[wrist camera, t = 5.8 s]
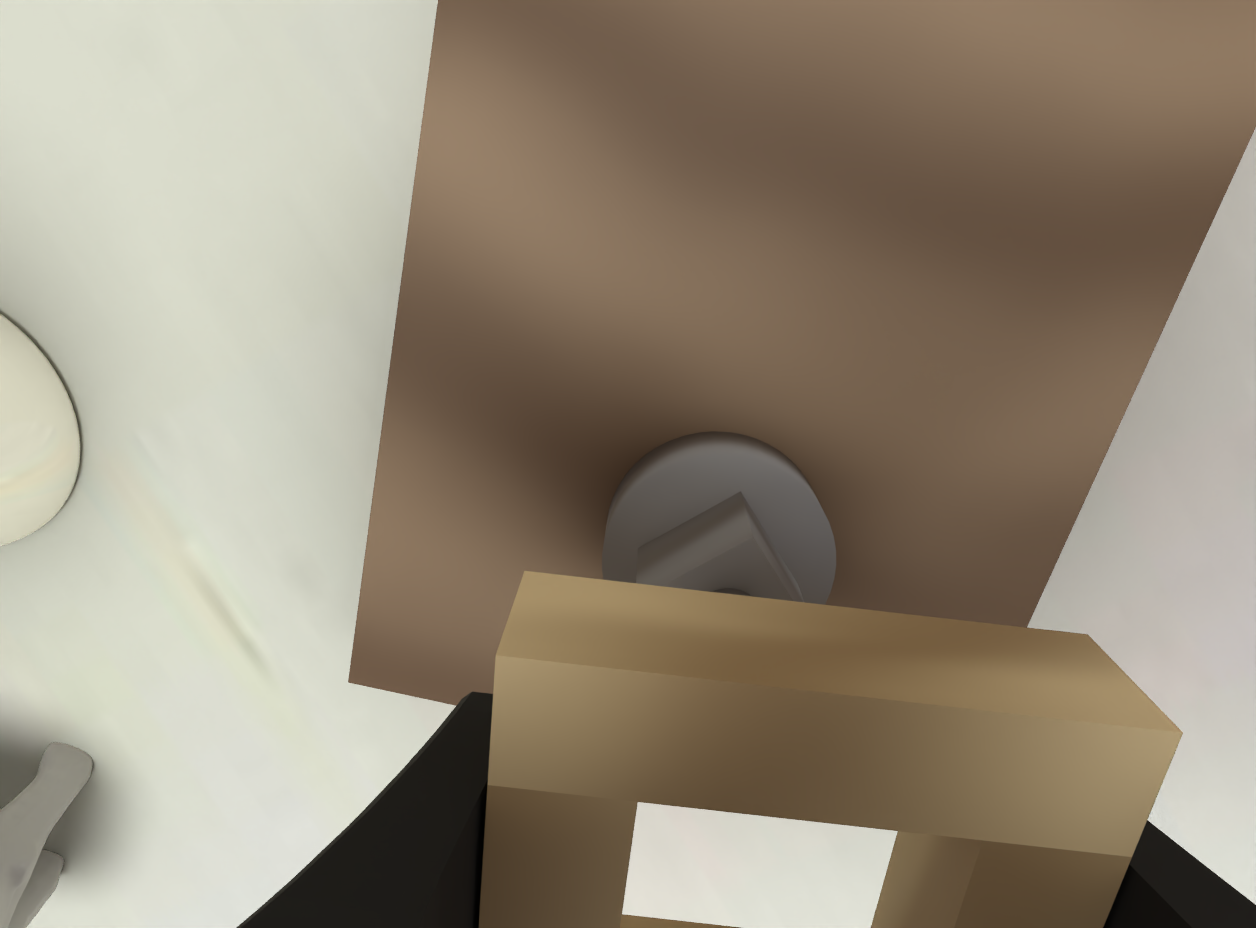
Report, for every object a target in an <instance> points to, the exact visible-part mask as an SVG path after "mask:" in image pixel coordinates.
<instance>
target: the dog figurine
mask: <svg viewBox="0 0 1256 928" xmlns="http://www.w3.org/2000/svg"><path fill="white" fill-rule="evenodd" d="M92 767H93V761H92V758H91V757H90V755H89V754H87V753H86V752H85V751H83V750H80V749H78V748H76V747H73V746H70V745H67V744H64V743H58V742H53V743H50V744H49V745H48V747H47V749H46V750H45V752H44V754H43V756H42V758H41V761H40V765H39V768H38V773H37V775H36V777H35V778H34V779H33V781H32V782H31V783H30V784H29V785H28V786H27V787H26V788H25V789H24V790H23V791H22V792H21V793H19V794H18V795H17V796H16V797H15V798H14V799H13V800H12V801H11V802H10V803H8V804H7V805H6V806H4V807H3V808H2V809H1V810H0V928H26V927H27V926H28V925H29V923H30V922H31V921H32V919H33V918H34V917H35V916H36V914H37V913H38V912H39V910H40V909H41V908H42V906H43V905H44V903H45V902H46V901H47V899H48V898H49V897H50V896H51V894H52V893H53V892H54V890H55V889H56V887H57V884H58V881H59V876H60V873H61V870H62V867H63V865H64V859H63V858H62V857H61V856H60V855H58V854H56V853H54V852H50V851H47V850H42V848H43V846H44V844H45V842H46V840H47V837H48V836H49V834H50V832H51V831H52V829H53V827H54V826H55V824H56V823H57V822H58V820H59V819H60V818H61V816H62V815H63V813H64V812H65V810H66V809H67V807H68V806H69V805H70V803H71V802H72V801H73V799H74V798H75V797H76V796H77V794H78V793H79V792H80V790H81V789H82V788H83V786H84V785H85V784H86V782H87V781H88V780H89V777H90V775H91V771H92Z"/></svg>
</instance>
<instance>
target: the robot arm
mask: <svg viewBox="0 0 1256 928" xmlns="http://www.w3.org/2000/svg"><path fill="white" fill-rule="evenodd" d="M492 705H493V694H490V693H481V692H471V693H469V694H468V695H466V696H465V697H464V698H462V699H461V700H460V702H459V703H458V704H457V706H456V707H455V708H454V710H453V711H452V712H451V713H450V715H449V716H448V717H447V718H446V720H445V721H444V722H443V723H442V724H441V726H440V727H439V728H438V729H437V731H436V732H435V733H434V734H433V735H432V736H431V738H430V739H429V740H428V741H427V742H426V743H425V745H424V746H423V747H422V748H421V749H420V750H419V751H418V753H417V754H416V755H415V756H414V757H413V758H412V759H411V760H410V762H409V763H408V764H407V765H406V766H405V767H404V768H403V769H402V770H401V772H400V773H399V774H398V775H397V776H396V777H395V778H394V779H393V780H392V781H391V782H390V783H389V784H388V785H387V786H386V787H385V788H384V790H383V791H382V792H381V793H380V794H379V795H378V796H377V797H376V798H375V799H374V800H373V801H372V802H371V803H370V804H369V805H368V806H367V807H366V809H365V810H364V811H363V812H362V813H361V814H360V815H359V816H358V817H357V818H356V819H355V820H354V821H353V822H352V823H351V824H350V825H349V826H348V827H347V828H346V829H345V830H344V831H342V832H341V833H340V834H339V835H338V836H337V837H336V838H335V839H334V840H333V841H332V842H331V843H330V844H329V845H328V846H327V847H326V848H325V849H324V850H322V851H321V852H320V853H319V854H318V855H317V856H316V857H315V858H314V859H313V860H312V861H311V862H310V863H309V864H308V865H307V866H306V867H305V868H304V869H302V870H301V871H300V872H299V873H298V874H297V875H296V876H295V877H294V878H293V879H292V880H291V881H290V882H289V883H287V884H286V885H285V886H284V887H283V888H282V889H281V890H280V891H278V892H277V893H276V894H275V895H274V896H273V897H272V898H270V899H269V900H268V901H267V902H266V903H265V904H264V905H262V906H261V907H260V908H259V909H258V910H257V911H256V912H254V913H253V914H252V915H251V916H250V917H249V918H247V919H246V920H245V921H244V922H243V923H241V924H240V925H239V926H238V927H237V928H479V914H480V898H481V882H482V866H483V850H484V834H485V818H486V802H487V786H488V769H489V753H490V737H491V721H492ZM1103 928H1256V905H1255V904H1254V903H1252V902H1251V901H1250V900H1249V899H1247V898H1246V897H1245V896H1243V895H1242V894H1241V893H1240V892H1238V891H1237V890H1236V889H1234V888H1233V887H1232V886H1231V885H1229V884H1228V883H1227V882H1225V881H1224V880H1223V879H1221V878H1220V877H1219V876H1218V875H1216V874H1215V873H1214V872H1212V871H1211V870H1210V869H1209V868H1207V867H1206V866H1205V865H1204V864H1202V863H1201V862H1200V861H1198V860H1197V859H1196V858H1195V857H1193V856H1192V855H1191V854H1190V853H1188V852H1187V851H1186V850H1184V849H1183V848H1182V847H1181V846H1179V845H1178V844H1177V843H1176V842H1174V841H1173V840H1172V839H1170V838H1169V837H1168V836H1167V835H1165V834H1164V833H1163V832H1162V831H1160V830H1159V829H1158V828H1156V827H1155V826H1154V825H1153V824H1151V823H1150V822H1149V821H1148V820H1147V822H1146V824H1145V827H1144V829H1143V831H1142V834H1141V836H1140V839H1139V841H1138V844H1137V846H1136V848H1135V851H1134V853H1133V856H1132V858H1131V861H1130V863H1129V866H1128V868H1127V870H1126V873H1125V875H1124V878H1123V880H1122V883H1121V885H1120V888H1119V890H1118V892H1117V895H1116V897H1115V900H1114V902H1113V905H1112V907H1111V909H1110V912H1109V914H1108V917H1107V919H1106V922H1105V924H1104V927H1103Z"/></svg>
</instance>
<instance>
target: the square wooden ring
mask: <svg viewBox="0 0 1256 928" xmlns="http://www.w3.org/2000/svg"><path fill="white" fill-rule="evenodd" d="M1182 734H1183V732H1182V731H1181V730H1180V729H1179V728H1178V727H1177V726H1176V725H1175V724H1174V723H1173V722H1172V721H1171V720H1170V719H1169V718H1168V717H1167V716H1166V715H1165V714H1164V713H1163V712H1162V711H1161V710H1160V709H1159V708H1158V707H1157V706H1156V704H1155V703H1154V702H1153V701H1152V700H1151V699H1150V698H1149V697H1148V696H1147V695H1146V694H1145V693H1144V692H1143V691H1142V690H1141V689H1140V688H1139V687H1138V686H1137V685H1136V684H1135V683H1134V682H1133V681H1132V680H1131V679H1130V678H1129V677H1128V676H1127V675H1126V674H1125V673H1124V671H1123V670H1122V669H1121V668H1120V667H1119V666H1118V665H1117V664H1116V663H1115V662H1114V661H1113V660H1112V659H1111V658H1110V657H1109V656H1108V655H1107V654H1106V653H1105V652H1104V651H1103V650H1102V649H1101V648H1100V647H1099V646H1098V645H1097V644H1096V643H1095V642H1094V641H1093V640H1092V638H1091V637H1090V636H1089V635H1087V634H1079V633H1070V632H1061V631H1052V630H1043V629H1034V628H1026V627H1017V626H1008V625H999V624H990V623H981V622H973V621H964V620H955V619H946V618H937V617H928V616H920V615H911V614H902V613H893V612H884V611H875V610H867V609H858V608H849V607H840V606H831V605H822V604H814V603H805V602H796V601H787V600H778V599H769V598H761V597H752V596H743V595H734V594H725V593H716V592H708V591H699V590H690V589H681V588H672V587H663V586H655V585H646V584H637V583H628V582H619V581H610V580H602V579H593V578H584V577H575V576H566V575H557V574H549V573H540V572H531V571H524V574H523V577H522V580H521V583H520V586H519V589H518V592H517V594H516V597H515V600H514V603H513V606H512V609H511V612H510V615H509V618H508V621H507V624H506V626H505V629H504V632H503V635H502V638H501V641H500V644H499V647H498V650H497V653H496V657H495V673H494V689H493V705H492V721H491V737H490V753H489V769H488V786H487V802H486V818H485V834H484V850H483V866H482V882H481V898H480V914H479V928H739V927H730V926H721V925H712V924H703V923H694V922H685V921H676V920H667V919H658V918H649V917H640V916H631V915H622V909H623V902H624V895H625V887H626V880H627V873H628V866H629V859H630V852H631V845H632V838H633V831H634V824H635V816H636V809H637V802H644V803H653V804H662V805H671V806H680V807H689V808H698V809H707V810H716V811H725V812H733V813H742V814H751V815H760V816H769V817H778V818H787V819H796V820H805V821H814V822H823V823H832V824H841V825H850V826H859V827H867V828H876V829H885V830H894V831H898V833H897V836H896V840H895V844H894V847H893V851H892V854H891V858H890V861H889V865H888V868H887V872H886V876H885V879H884V883H883V886H882V890H881V893H880V897H879V901H878V904H877V908H876V911H875V915H874V918H873V922H872V925H871V928H1103V927H1104V924H1105V922H1106V919H1107V917H1108V914H1109V912H1110V909H1111V907H1112V905H1113V902H1114V900H1115V897H1116V895H1117V892H1118V890H1119V888H1120V885H1121V883H1122V880H1123V878H1124V875H1125V873H1126V870H1127V868H1128V866H1129V863H1130V861H1131V858H1132V856H1133V853H1134V851H1135V848H1136V846H1137V844H1138V841H1139V839H1140V836H1141V834H1142V831H1143V829H1144V827H1145V824H1146V822H1147V819H1148V817H1149V814H1150V812H1151V809H1152V807H1153V805H1154V802H1155V800H1156V797H1157V795H1158V792H1159V790H1160V787H1161V785H1162V783H1163V780H1164V778H1165V775H1166V773H1167V770H1168V768H1169V766H1170V763H1171V761H1172V758H1173V756H1174V753H1175V751H1176V748H1177V746H1178V744H1179V741H1180V739H1181V736H1182Z"/></svg>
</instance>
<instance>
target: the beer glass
mask: <svg viewBox="0 0 1256 928" xmlns="http://www.w3.org/2000/svg"><path fill="white" fill-rule="evenodd" d="M79 463H80V436H79V429H78V424H77V419H76V416H75V412H74V409H73V406H72V403H71V401H70V398H69V396H68V393H67V391H66V389H65V387H64V385H63V383H62V382H61V380H60V378H59V376H58V375H57V373H56V371H55V370H54V368H53V367H52V365H51V364H50V362H49V361H48V360H47V358H46V357H45V356H44V354H43V353H42V352H41V351H40V350H39V348H38V347H37V346H36V345H35V344H34V343H33V342H32V341H31V340H30V338H29V337H28V336H27V335H26V334H24V333H23V332H22V331H21V330H20V329H19V328H18V327H17V326H16V325H14V324H13V323H12V322H11V321H9V320H8V319H7V318H6V317H4V316H3V315H1V314H0V547H1V546H4V545H7V544H10V543H12V542H15V541H17V540H19V539H22V538H24V537H26V536H28V535H30V534H32V533H33V532H35V531H37V530H38V529H40V528H41V527H42V526H44V525H45V524H46V523H47V522H49V521H50V520H51V519H52V518H53V517H54V516H55V515H56V514H57V513H58V511H59V510H60V509H61V508H62V506H63V505H64V504H65V502H66V501H67V499H68V497H69V495H70V493H71V491H72V489H73V487H74V484H75V481H76V478H77V474H78V469H79Z"/></svg>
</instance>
